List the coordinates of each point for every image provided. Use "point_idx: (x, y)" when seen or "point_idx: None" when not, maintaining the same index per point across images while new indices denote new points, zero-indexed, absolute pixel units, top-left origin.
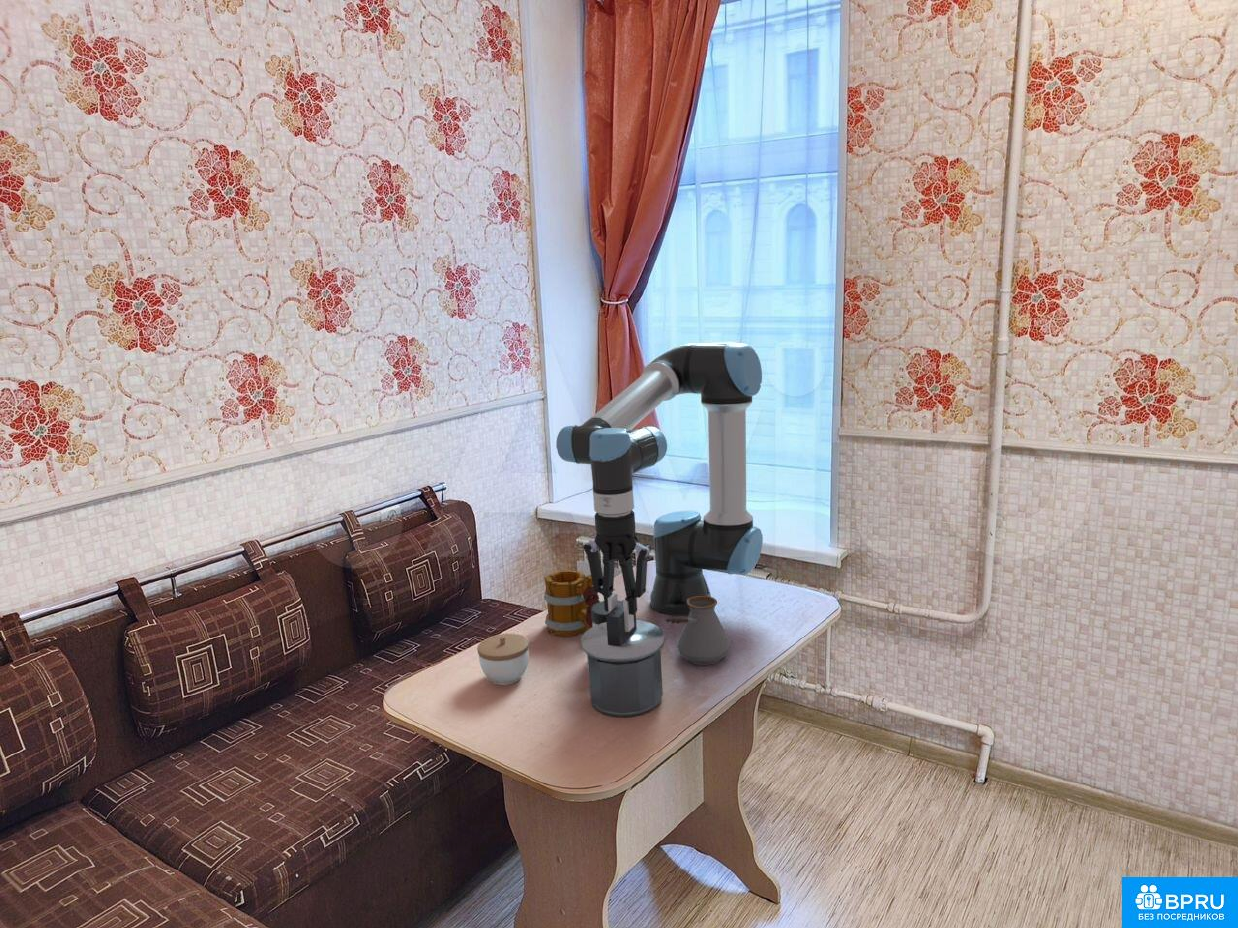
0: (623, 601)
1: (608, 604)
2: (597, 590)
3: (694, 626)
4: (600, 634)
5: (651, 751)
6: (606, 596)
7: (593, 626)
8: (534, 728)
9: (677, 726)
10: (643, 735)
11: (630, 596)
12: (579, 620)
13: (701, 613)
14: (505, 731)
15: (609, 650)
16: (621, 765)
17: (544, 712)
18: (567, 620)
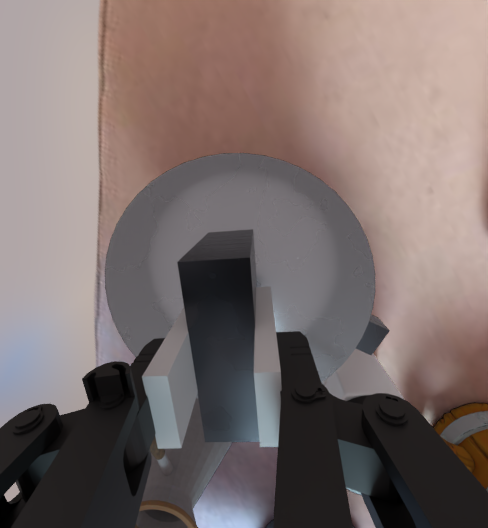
0: (167, 368)
1: (275, 344)
2: (378, 408)
3: (174, 452)
4: (315, 288)
5: (111, 97)
6: (292, 381)
7: (396, 390)
8: (369, 65)
9: (116, 196)
10: (153, 142)
11: (98, 402)
12: (458, 445)
13: (151, 489)
14: (429, 21)
15: (226, 192)
16: (133, 21)
17: (378, 134)
18: (484, 436)
